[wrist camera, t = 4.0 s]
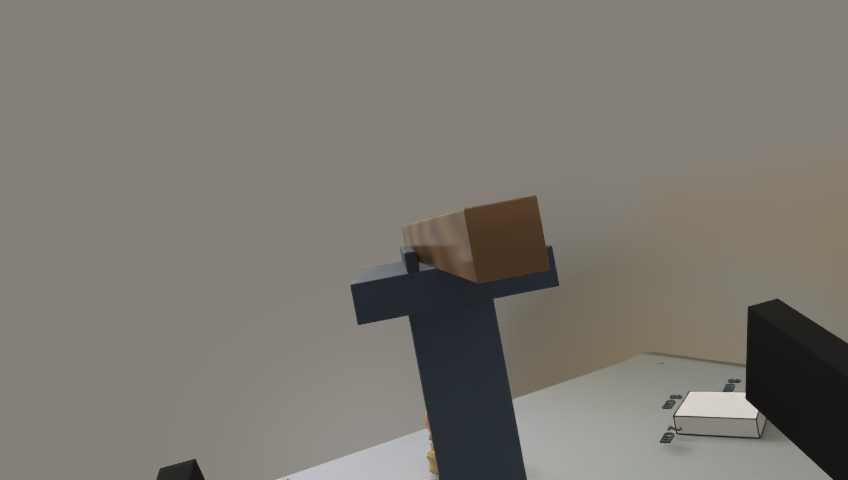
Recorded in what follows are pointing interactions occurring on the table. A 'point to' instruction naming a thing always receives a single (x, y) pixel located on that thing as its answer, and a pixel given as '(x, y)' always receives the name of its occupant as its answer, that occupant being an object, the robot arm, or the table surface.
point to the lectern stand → (456, 359)
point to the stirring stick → (483, 241)
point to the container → (715, 414)
